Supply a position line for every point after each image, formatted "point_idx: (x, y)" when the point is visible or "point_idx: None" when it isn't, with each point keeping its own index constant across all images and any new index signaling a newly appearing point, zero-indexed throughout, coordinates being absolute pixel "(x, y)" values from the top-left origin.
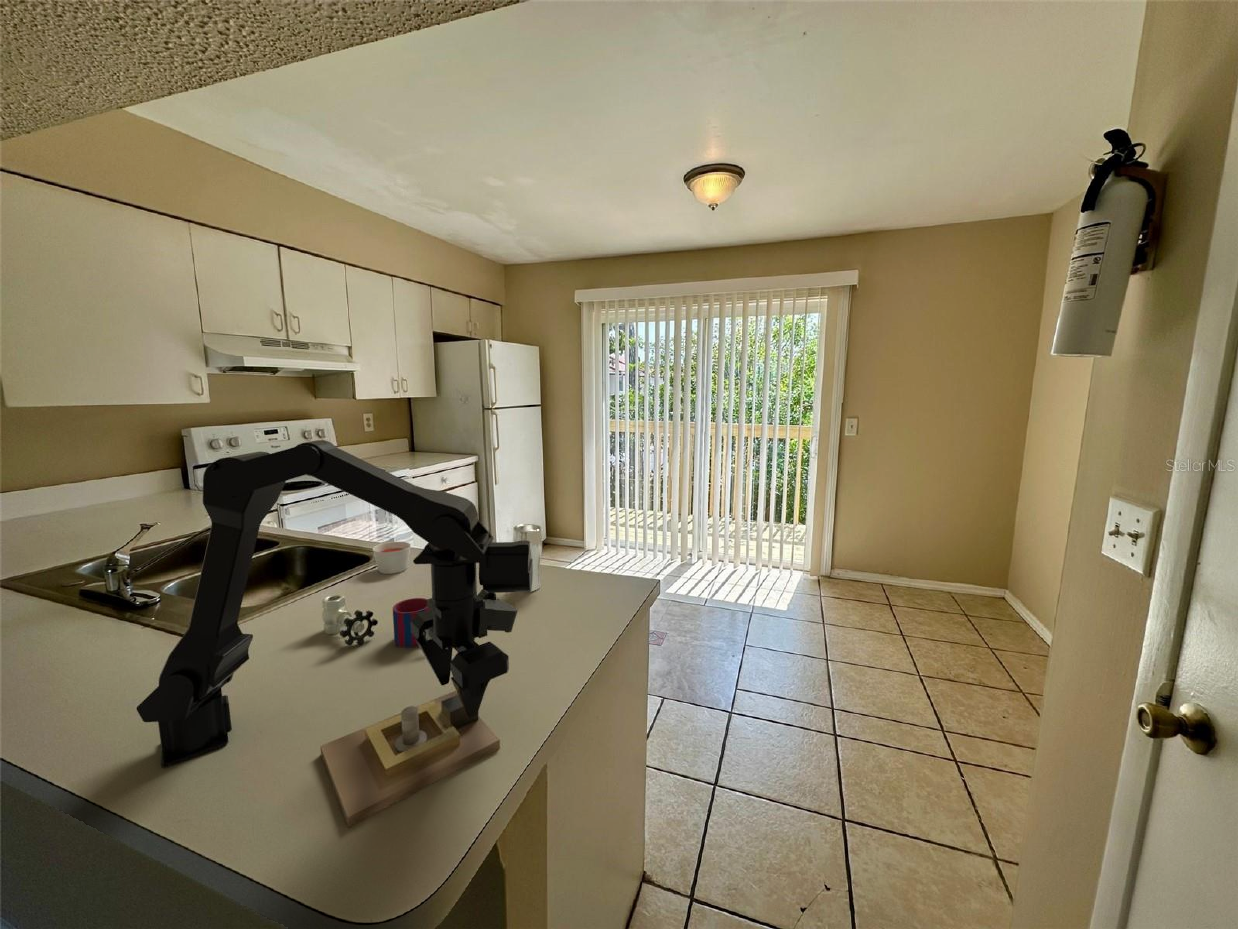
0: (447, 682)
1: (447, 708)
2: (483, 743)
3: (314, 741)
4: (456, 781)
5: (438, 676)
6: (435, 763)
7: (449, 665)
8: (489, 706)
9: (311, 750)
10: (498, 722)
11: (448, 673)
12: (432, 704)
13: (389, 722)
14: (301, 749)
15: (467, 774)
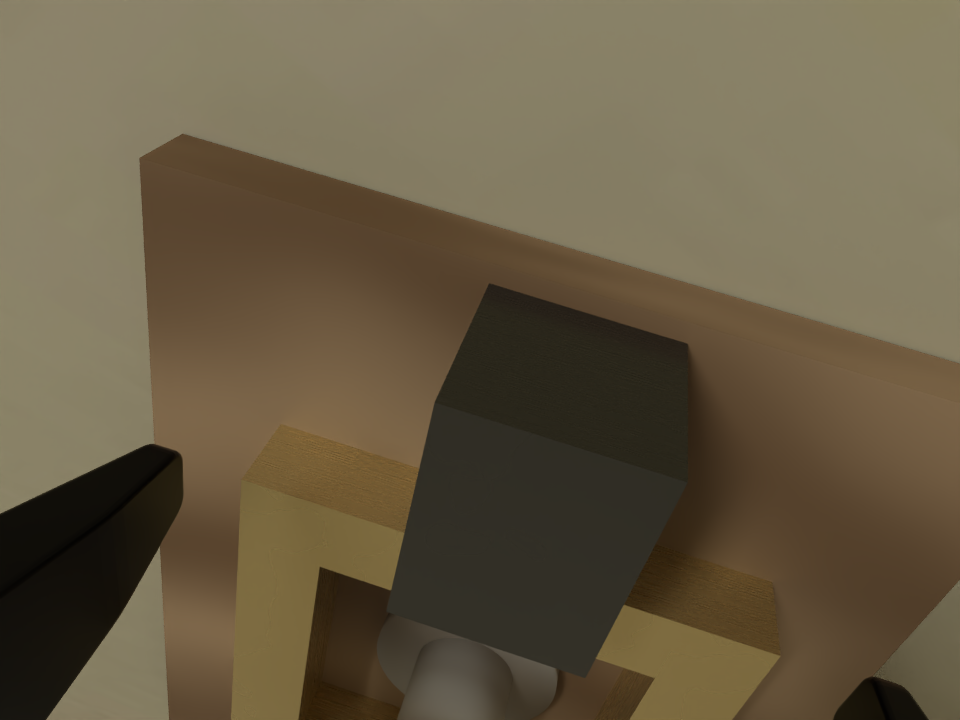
0: (176, 475)
1: (521, 655)
2: (950, 517)
3: (91, 682)
4: (917, 668)
5: (110, 626)
6: (746, 711)
7: (23, 599)
8: (538, 26)
9: (142, 711)
10: (812, 159)
11: (107, 537)
12: (280, 510)
13: (264, 695)
14: (112, 716)
15: (951, 622)
